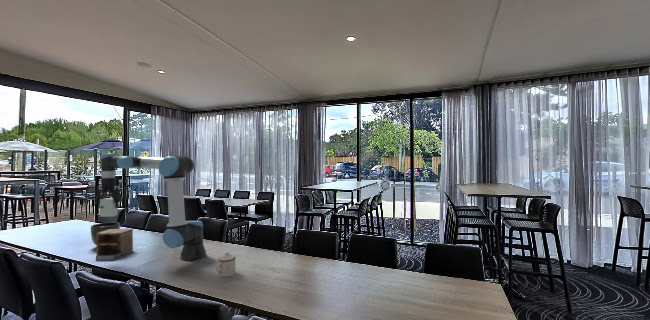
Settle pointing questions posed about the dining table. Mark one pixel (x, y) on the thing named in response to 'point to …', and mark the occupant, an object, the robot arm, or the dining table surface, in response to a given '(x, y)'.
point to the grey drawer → (110, 254)
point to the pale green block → (107, 207)
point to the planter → (103, 228)
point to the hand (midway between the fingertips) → (108, 213)
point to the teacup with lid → (226, 265)
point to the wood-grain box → (114, 241)
